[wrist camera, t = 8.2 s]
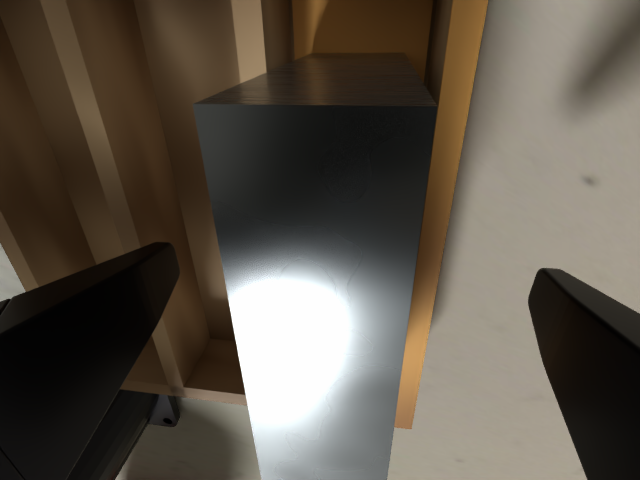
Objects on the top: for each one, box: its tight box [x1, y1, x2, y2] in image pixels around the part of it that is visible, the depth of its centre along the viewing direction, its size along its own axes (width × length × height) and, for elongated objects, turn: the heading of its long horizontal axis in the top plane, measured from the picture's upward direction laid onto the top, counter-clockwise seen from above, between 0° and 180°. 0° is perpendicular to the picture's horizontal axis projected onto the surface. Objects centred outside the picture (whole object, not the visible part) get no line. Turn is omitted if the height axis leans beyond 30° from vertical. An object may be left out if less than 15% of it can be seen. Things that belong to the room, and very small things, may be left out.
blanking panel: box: [193, 52, 437, 480], centre depth 9 cm, size 9×2×7 cm, turn 1°
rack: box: [0, 0, 488, 429], centre depth 12 cm, size 14×13×3 cm
